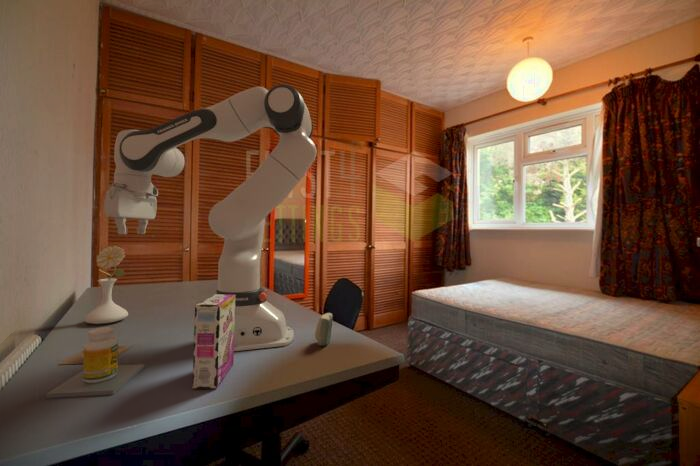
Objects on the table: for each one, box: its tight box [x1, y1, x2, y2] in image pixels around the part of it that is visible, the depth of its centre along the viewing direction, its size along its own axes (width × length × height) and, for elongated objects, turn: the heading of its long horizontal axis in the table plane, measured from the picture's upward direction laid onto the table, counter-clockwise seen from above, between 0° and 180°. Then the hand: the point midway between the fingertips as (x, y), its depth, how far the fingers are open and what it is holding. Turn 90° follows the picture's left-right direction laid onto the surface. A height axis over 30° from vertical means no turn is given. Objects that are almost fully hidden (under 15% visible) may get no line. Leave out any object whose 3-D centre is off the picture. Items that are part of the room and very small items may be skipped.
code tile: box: [58, 345, 133, 366], centre depth 74 cm, size 10×10×1 cm
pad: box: [45, 363, 146, 399], centre depth 61 cm, size 11×11×1 cm
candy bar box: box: [192, 293, 236, 390], centre depth 64 cm, size 11×5×16 cm, turn 5°
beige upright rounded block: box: [314, 312, 334, 348], centre depth 83 cm, size 6×5×8 cm
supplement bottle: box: [82, 326, 119, 383], centre depth 61 cm, size 5×5×10 cm
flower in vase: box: [83, 245, 129, 325], centre depth 99 cm, size 13×11×25 cm
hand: (132, 234), depth 89 cm, fingers open, 8 cm apart
